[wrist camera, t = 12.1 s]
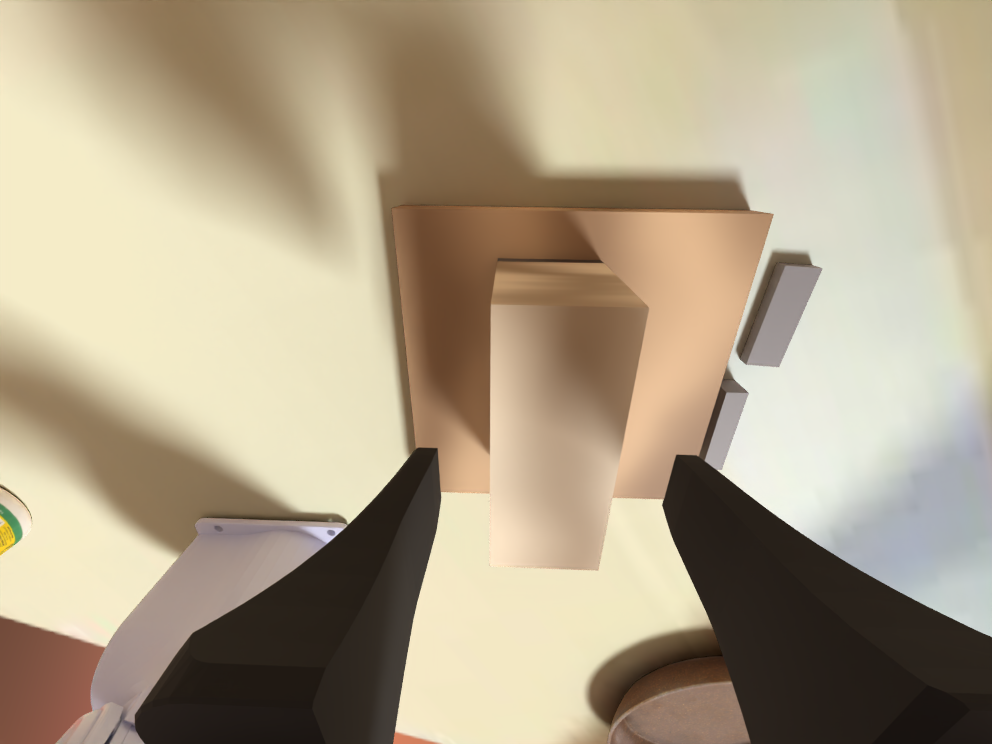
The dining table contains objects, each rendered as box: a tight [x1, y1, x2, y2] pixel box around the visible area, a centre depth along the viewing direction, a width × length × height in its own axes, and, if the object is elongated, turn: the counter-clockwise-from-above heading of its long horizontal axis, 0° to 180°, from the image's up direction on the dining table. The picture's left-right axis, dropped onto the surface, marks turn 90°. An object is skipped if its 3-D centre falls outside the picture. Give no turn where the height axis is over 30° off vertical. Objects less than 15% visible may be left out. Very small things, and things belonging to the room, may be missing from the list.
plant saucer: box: [607, 656, 751, 744], centre depth 32 cm, size 18×18×3 cm
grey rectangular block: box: [740, 263, 822, 367], centre depth 17 cm, size 2×4×1 cm, turn 176°
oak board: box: [392, 205, 774, 499], centre depth 18 cm, size 14×14×2 cm
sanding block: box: [489, 258, 649, 570], centre depth 15 cm, size 4×10×6 cm, turn 179°
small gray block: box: [699, 380, 749, 470], centre depth 20 cm, size 2×4×1 cm
